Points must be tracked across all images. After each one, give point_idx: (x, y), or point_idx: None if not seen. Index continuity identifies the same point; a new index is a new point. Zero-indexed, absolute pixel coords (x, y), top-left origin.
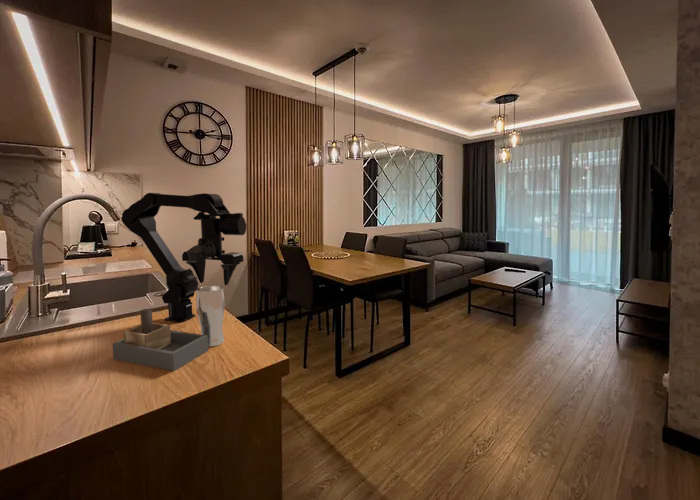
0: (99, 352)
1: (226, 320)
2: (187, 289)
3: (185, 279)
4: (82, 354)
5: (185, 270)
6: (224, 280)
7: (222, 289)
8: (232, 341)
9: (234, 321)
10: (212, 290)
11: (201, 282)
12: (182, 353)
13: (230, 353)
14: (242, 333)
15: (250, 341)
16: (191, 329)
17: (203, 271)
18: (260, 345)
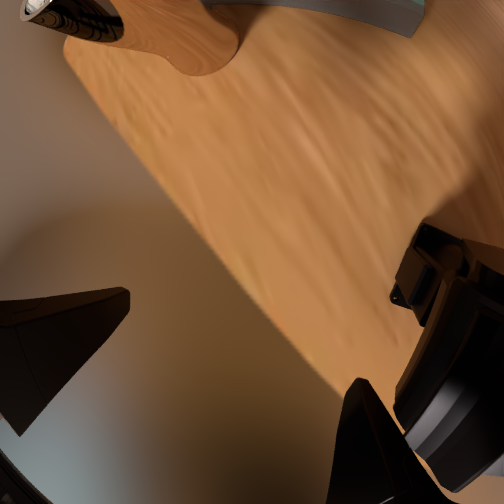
0: (480, 6)
1: (242, 248)
2: (445, 293)
3: (488, 360)
4: (500, 8)
5: (496, 455)
6: (95, 296)
7: (27, 1)
8: (151, 67)
9: (208, 236)
10: (77, 4)
11: (354, 381)
12: None
13: None
14: (142, 127)
15: (112, 84)
16: (342, 140)
17: (337, 480)
18: (92, 74)
